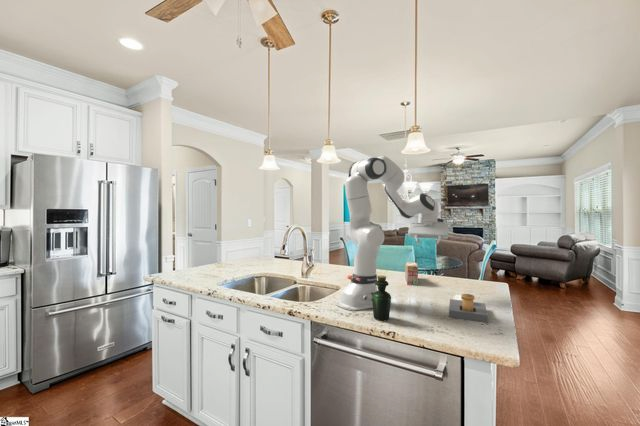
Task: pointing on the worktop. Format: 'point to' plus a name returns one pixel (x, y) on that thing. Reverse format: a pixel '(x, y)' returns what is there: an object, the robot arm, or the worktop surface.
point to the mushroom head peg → (467, 302)
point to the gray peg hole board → (476, 315)
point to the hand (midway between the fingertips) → (427, 243)
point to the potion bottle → (381, 300)
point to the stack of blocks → (411, 273)
